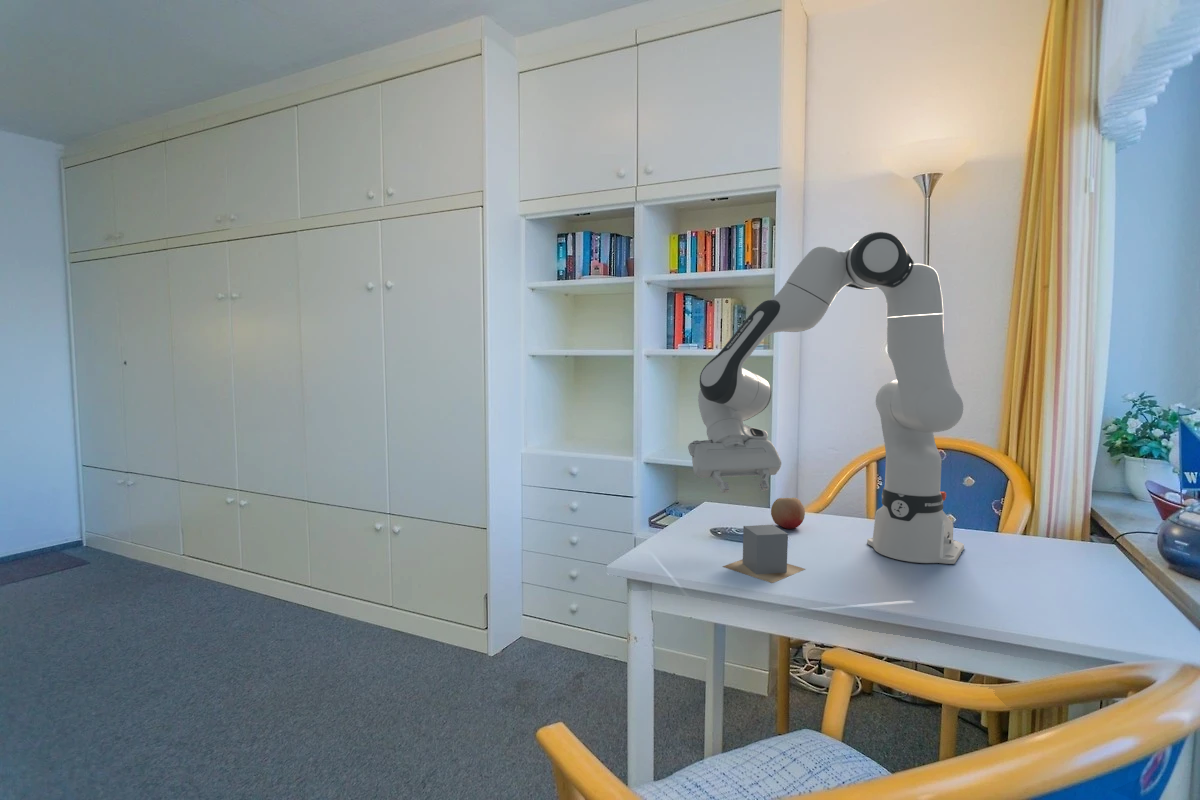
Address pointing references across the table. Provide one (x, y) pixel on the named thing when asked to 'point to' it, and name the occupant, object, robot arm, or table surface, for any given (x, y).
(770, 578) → the cork mat
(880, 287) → the robot arm
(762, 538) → the plain grey cube
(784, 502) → the fruit
